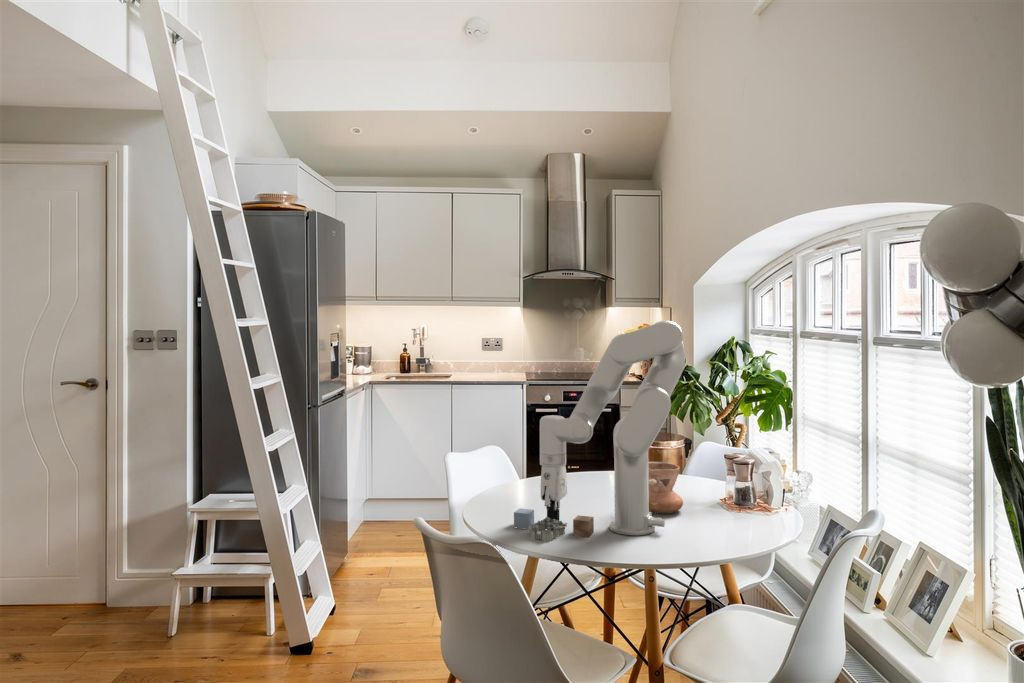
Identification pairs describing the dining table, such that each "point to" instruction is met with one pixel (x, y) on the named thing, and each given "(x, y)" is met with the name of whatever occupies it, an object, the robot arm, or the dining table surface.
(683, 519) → the dining table surface
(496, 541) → the dining table surface
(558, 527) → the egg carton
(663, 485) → the ceramic jug
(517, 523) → the slate-blue block
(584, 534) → the walnut block
